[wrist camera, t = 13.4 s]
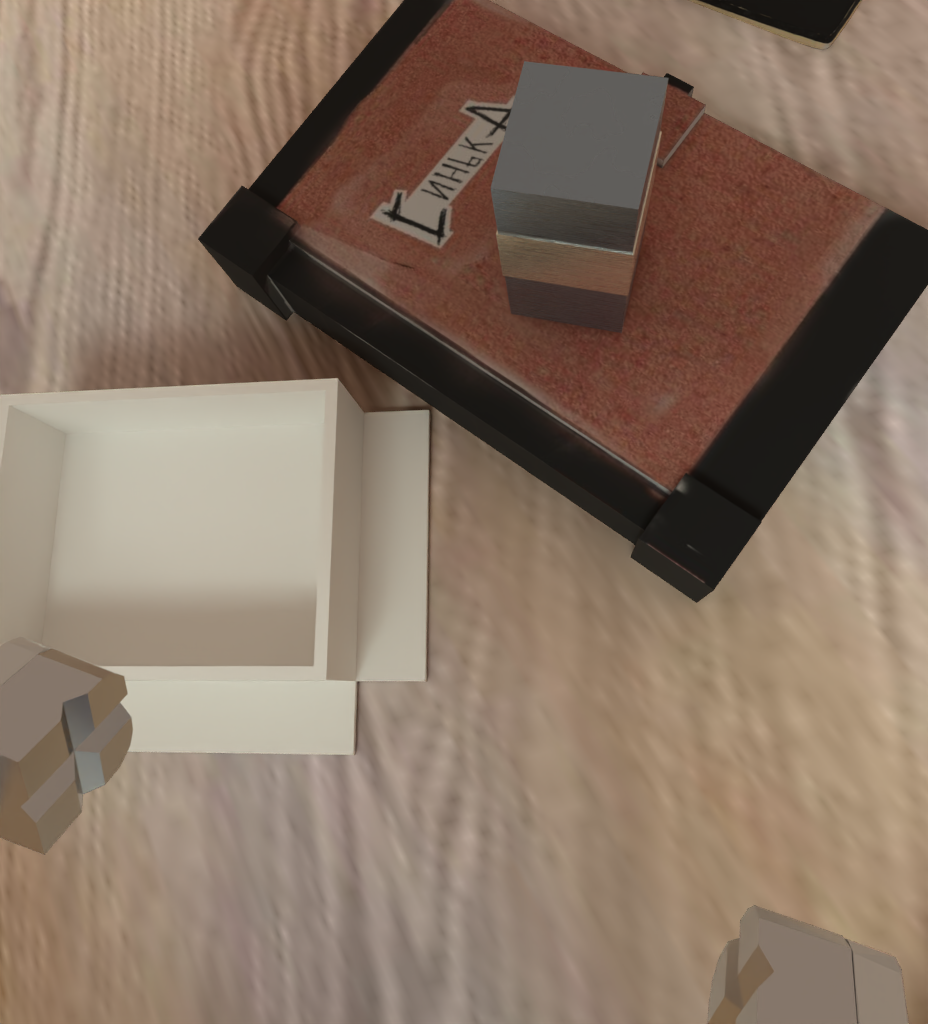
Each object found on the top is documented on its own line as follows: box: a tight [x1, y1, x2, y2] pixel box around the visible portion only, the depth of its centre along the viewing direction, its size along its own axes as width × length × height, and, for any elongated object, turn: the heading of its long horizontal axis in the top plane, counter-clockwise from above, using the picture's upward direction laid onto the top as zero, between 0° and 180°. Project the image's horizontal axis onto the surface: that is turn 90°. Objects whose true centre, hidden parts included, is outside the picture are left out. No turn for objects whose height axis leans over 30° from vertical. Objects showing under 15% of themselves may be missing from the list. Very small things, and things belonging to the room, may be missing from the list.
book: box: [198, 0, 928, 603], centre depth 36 cm, size 26×18×5 cm
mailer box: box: [0, 378, 430, 755], centre depth 35 cm, size 15×21×4 cm
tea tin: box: [491, 61, 668, 333], centre depth 29 cm, size 5×5×8 cm
